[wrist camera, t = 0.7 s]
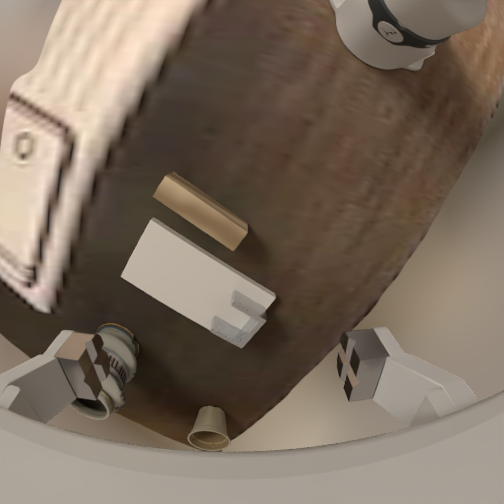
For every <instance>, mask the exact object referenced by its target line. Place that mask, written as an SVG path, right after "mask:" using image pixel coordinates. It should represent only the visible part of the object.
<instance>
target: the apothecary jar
mask: <svg viewBox="0 0 504 504" xmlns="http://www.w3.org/2000/svg"><path fill="white" fill-rule="evenodd" d="M96 334H99V335H100V336H101V337H102V340H103V342H104V345H103V347H102V349H103V350H104V351H105V352H106V353H107V354H108V357H109V360H110V372H109V375H108V377H107V379H106V380H104V381H103V382H101V384H102V387H103V388H102V390H101V392H100V394H99V396H98V398H97V400H91V399H84V398H78V397H76V399H75V400H74V401H73V402H72V403H70V405H71V406H72V407H73V408H74V409H75V410H76V411H78V412H79V413H81V414H83V415H85V416H87V417H89V418H92V419H98V420H102V419H106V418H107V417H108V416H109V415H110V414H111V413H114V412H117V411H119V410H120V409H121V408H122V407H123V405H124V402H125V394H124V390H123V387H124V384H125V383H127V382H129V381H130V380H132V379H133V377H134V376H135V374H136V372H137V361H136V357H137V355H138V353H139V344H138V343H137V342H136V341H135V339H134V335H133V334H132V333H131V332H130V331H129V330H128V329H126V328H124V327H123V326H121V325H118V324H114V323H106V324H104V325H102V326H100V327H99V328H98V330H97V333H96Z"/></svg>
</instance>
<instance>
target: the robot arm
mask: <svg viewBox="0 0 504 504" xmlns="http://www.w3.org/2000/svg"><path fill="white" fill-rule="evenodd" d="M330 3H331V5H332V7H333V9H334V11H335V13H336V25H337V29H338V33H339V35H340V37H341V39H342V41H343V42H344V44H345V45H346V47H347V48H348V49H349V50H350V51H351V52H352V53H353V54H354V55H355V56H356V57H358V58H359V59H360V60H362V61H363V62H365V63H367V64H369V65H371V66H373V67H376V68H380V69H388V70H389V69H398V68H405V69H409V70H412V71H417V70H419V69H421V67H422V65H423V62H424V59H426V58H428V57H430V56H432V55H433V54H434V53H435V51H434V50H435V48H436V46H437V45H439V44H441V43H443V42H444V41H446V40H448V39H449V38H450V36H452V35H454V34H457V33H460V32H463V31H466V30H469V29H472V28H475V27H477V26H478V25H479V24H480V23H481V22H482V21H483V19H484V17H485V15H486V10H487V3H486V0H330ZM340 343H341V345H342V347H343V348H342V349H341V350H340V351H339V352H338V358H337V369H338V374H339V377H340V378H341V379H342V380H343V381H345V385H344V390H345V393H346V395H347V398H348V401H349V402H352V401H359V400H365V399H372V398H373V400H374V401H375V402H377V403H378V404H379V405H380V406H382V407H383V408H384V409H386V410H387V411H388V412H389V413H390V414H392V415H393V416H394V417H396V418H397V419H398V420H400V421H401V422H402V423H403V424H405V425H406V426H407V427H408V428H404V429H400V430H397V431H393V432H389V433H385V434H381V435H377V436H372V437H367V438H363V439H358V440H353V441H347V442H342V443H336V444H330V445H322V446H316V447H307V448H299V449H288V450H274V451H254V452H210V451H190V450H177V449H166V448H156V447H149V446H142V445H135V444H129V443H123V442H117V441H112V440H107V439H102V438H98V437H93V436H89V435H85V434H81V433H77V432H72V431H69V430H66V429H62V428H59V427H55V426H52V425H49V424H46V423H47V422H48V421H49V420H51V419H52V418H53V417H54V416H55V415H57V414H58V413H59V412H60V411H62V410H63V409H64V408H65V407H67V406H68V405H69V404H70V403H72V402H73V401H74V400H75V399H76V397H78V398H84V399H91V400H97V398H98V396H99V394H100V392H101V390H102V388H103V387H102V384H101V382H103V381H104V380H106V379H107V377H108V375H109V372H110V360H109V357H108V354H107V353H106V352H105V351H104V350H103V349H102V347H103V345H104V342H103V340H102V337H101V336H100V335H99V334H96V333H87V332H79V331H69V330H64V331H61V333H60V334H59V335H58V336H57V338H56V339H55V340H54V341H53V343H52V344H51V345H50V346H49V348H48V349H47V350H46V352H45V353H44V354H43V355H38V356H36V357H34V358H32V359H30V360H28V361H26V362H24V363H22V364H20V365H18V366H16V367H14V368H12V369H10V370H8V371H6V372H4V373H2V374H0V504H504V390H503V391H501V392H499V393H497V394H495V395H493V396H491V397H488V398H486V399H484V400H482V401H479V400H478V399H477V398H476V396H475V395H474V393H473V392H472V391H471V390H470V388H469V387H468V385H467V384H466V382H465V381H464V380H463V379H462V378H459V377H457V376H455V375H453V374H451V373H449V372H447V371H444V370H442V369H440V368H438V367H436V366H434V365H432V364H430V363H428V362H426V361H424V360H422V359H420V358H417V357H416V356H413V355H411V354H409V353H408V354H405V353H404V352H403V350H402V349H401V347H400V346H399V344H398V343H397V341H396V340H395V339H394V337H393V336H392V334H391V333H390V332H389V330H388V329H387V327H385V326H382V327H375V328H371V329H365V330H355V331H346V332H343V333H342V335H341V340H340Z"/></svg>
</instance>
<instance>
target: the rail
mask: <svg viewBox="0 0 504 504" xmlns="http://www.w3.org/2000/svg"><path fill="white" fill-rule="evenodd" d="M153 197H154V198H156V199H157V200H159V201H160V202H162V203H163V204H164V205H166V206H167V207H169V208H170V209H172V210H173V211H175V212H176V213H178V214H179V215H181V216H182V217H183V218H185V219H186V220H188V221H189V222H191V223H192V224H194V225H195V226H197V227H198V228H200V229H201V230H203V231H204V232H206V233H207V234H208V235H210V236H211V237H213V238H214V239H216V240H217V241H219V242H220V243H222V244H223V245H225V246H226V247H228V248H229V249H231V250H232V251H234V250H235V249H236V247H237V246H238V245H239V243H240V242H241V241H242V240H243V238H244V237H245V236H246V234H247V233H248V223H247V222H245V221H244V220H242V219H241V218H240V217H238V216H237V215H235V214H234V213H232V212H231V211H229V210H228V209H227V208H225V207H224V206H222V205H221V204H219V203H218V202H217V201H215V200H214V199H212V198H211V197H209V196H208V195H206V194H205V193H204V192H202V191H201V190H199V189H198V188H196V187H195V186H193V185H192V184H190V183H189V182H188V181H186V180H185V179H183V178H182V177H180V176H179V175H177V174H176V173H174V172H173V173H170V174H168V175H166V176H165V177H164V179H163V181H162V182H161V184H160V185H159V187H158V189H157V190H156V192H155V193H154V195H153Z"/></svg>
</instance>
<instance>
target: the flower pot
mask: <svg viewBox="0 0 504 504" xmlns="http://www.w3.org/2000/svg"><path fill="white" fill-rule="evenodd" d="M188 441H189V442H190V444H192V445H193V446H195V447H197V448H199V449H203V450H208V451H218V450H223V449H225V448H227V447H228V446H229V445H230V439H229V437H228V434H227V430H226V421H225V413H224V411H223V410H222V409H220V408H218V407H213V406H205V407H202V408H201V409H200V410H199V412H198V416H197V419H196V422H195V425H194V428H193V430H192V431H191V433H190V434H189V435H188Z"/></svg>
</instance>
